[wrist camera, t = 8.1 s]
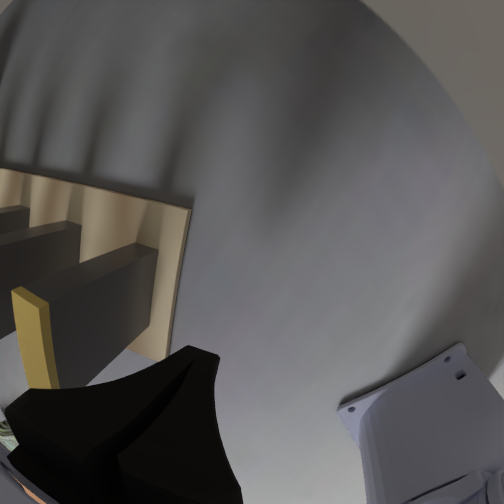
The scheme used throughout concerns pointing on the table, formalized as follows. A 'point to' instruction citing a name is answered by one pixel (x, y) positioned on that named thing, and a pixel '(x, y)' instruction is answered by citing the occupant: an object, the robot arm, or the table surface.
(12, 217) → the tile
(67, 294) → the tile
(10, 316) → the tile
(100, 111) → the table surface
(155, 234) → the birch board
